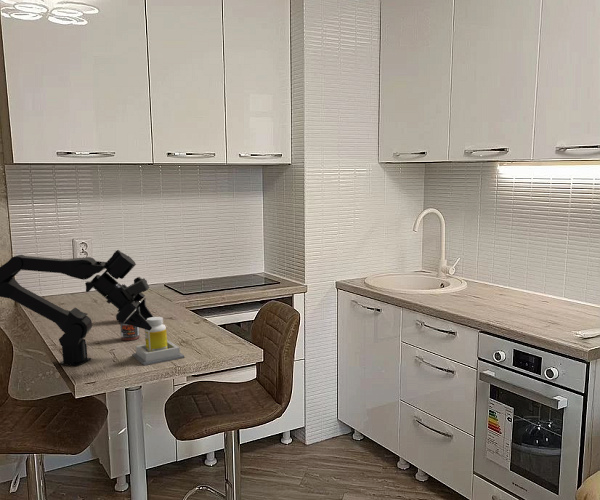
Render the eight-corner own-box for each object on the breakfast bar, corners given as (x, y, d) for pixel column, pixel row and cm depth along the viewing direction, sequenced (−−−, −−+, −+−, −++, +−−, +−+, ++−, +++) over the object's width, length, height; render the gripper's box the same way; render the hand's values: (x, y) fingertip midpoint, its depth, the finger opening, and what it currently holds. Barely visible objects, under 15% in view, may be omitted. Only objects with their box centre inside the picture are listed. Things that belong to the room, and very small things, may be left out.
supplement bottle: (121, 342, 190) (118, 308, 189) (121, 337, 196) (119, 304, 194) (140, 340, 192) (137, 306, 190) (139, 335, 197) (137, 303, 196)
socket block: (144, 365, 164) (143, 355, 164) (132, 355, 174) (131, 345, 174) (184, 357, 170) (183, 347, 170) (170, 348, 180) (170, 339, 180)
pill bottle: (172, 352, 174) (169, 316, 172) (159, 358, 168) (156, 321, 167) (155, 350, 176) (153, 315, 175) (142, 356, 171) (139, 320, 169)
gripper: (125, 275, 159) (168, 312, 162) (135, 265, 178) (174, 299, 180) (97, 304, 159) (141, 341, 162) (110, 292, 177) (149, 325, 180)
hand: (152, 325), depth 171 cm, fingers open, 9 cm apart
